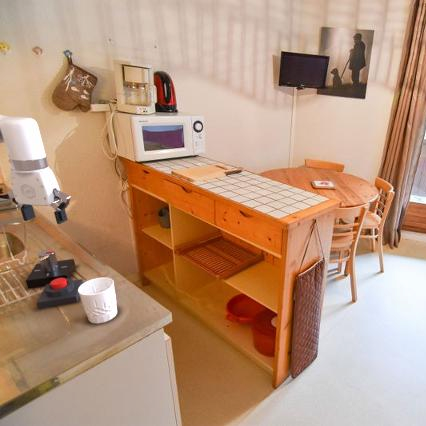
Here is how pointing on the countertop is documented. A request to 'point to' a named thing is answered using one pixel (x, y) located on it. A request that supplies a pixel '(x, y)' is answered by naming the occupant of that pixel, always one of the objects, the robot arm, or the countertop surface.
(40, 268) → the stove panel
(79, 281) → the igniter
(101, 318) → the white cup
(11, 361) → the countertop surface
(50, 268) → the stove knob
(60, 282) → the button
